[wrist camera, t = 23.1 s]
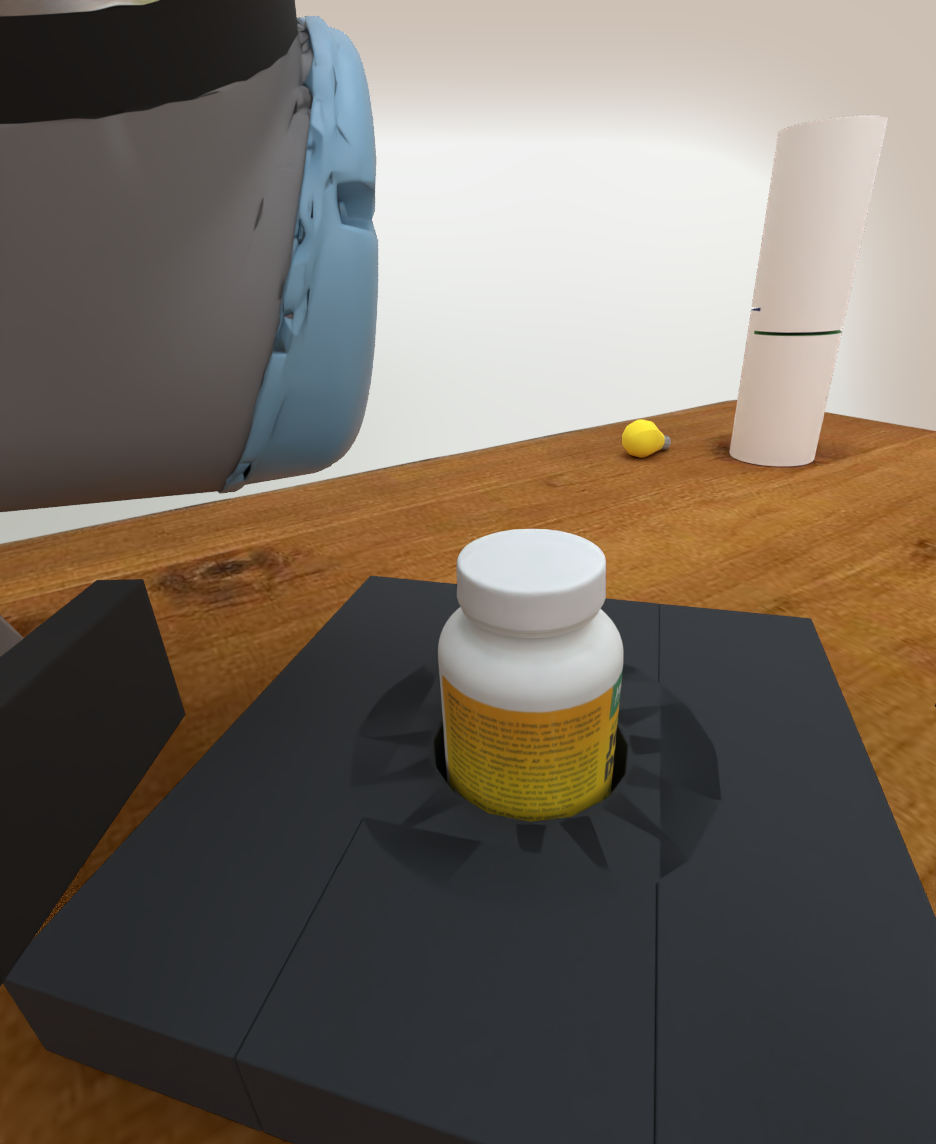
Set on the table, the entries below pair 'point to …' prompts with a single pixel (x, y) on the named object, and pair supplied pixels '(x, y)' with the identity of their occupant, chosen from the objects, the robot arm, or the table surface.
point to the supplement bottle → (530, 676)
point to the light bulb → (644, 439)
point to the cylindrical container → (804, 285)
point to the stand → (516, 912)
